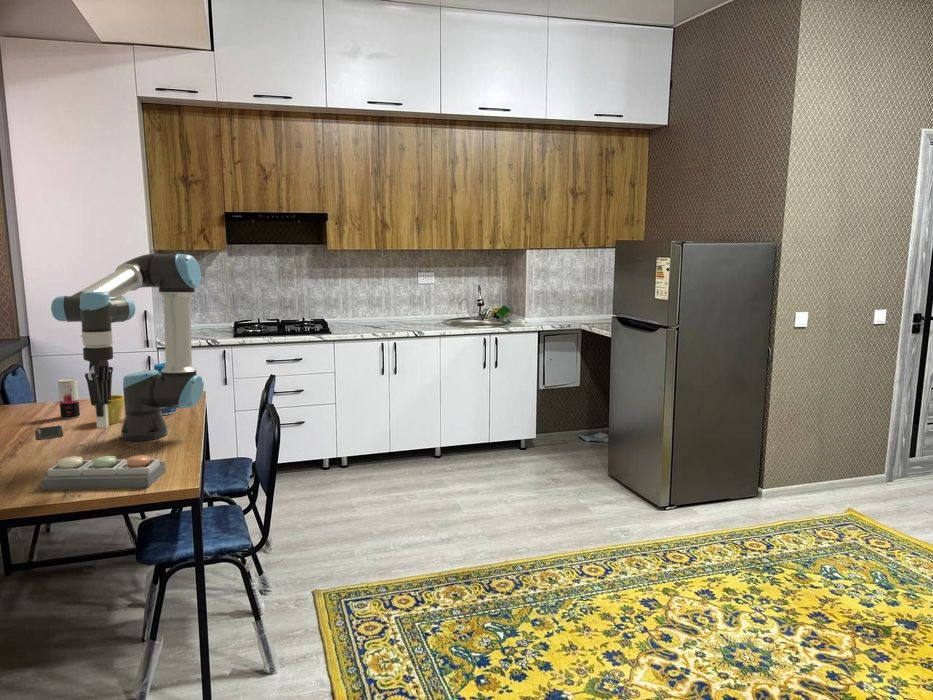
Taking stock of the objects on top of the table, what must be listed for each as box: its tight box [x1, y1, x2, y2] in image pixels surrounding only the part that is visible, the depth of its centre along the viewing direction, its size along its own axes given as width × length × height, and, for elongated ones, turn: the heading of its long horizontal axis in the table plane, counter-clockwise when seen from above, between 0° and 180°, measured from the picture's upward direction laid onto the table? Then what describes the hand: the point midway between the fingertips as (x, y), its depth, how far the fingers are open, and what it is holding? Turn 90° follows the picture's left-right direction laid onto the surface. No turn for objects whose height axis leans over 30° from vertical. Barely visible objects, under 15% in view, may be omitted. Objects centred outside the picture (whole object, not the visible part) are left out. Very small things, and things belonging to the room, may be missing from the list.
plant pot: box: [94, 394, 125, 425], centre depth 268 cm, size 10×10×10 cm
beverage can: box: [57, 377, 81, 420], centre depth 275 cm, size 7×7×15 cm
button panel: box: [40, 458, 167, 491], centre depth 203 cm, size 14×29×5 cm, turn 95°
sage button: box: [92, 455, 117, 468], centre depth 203 cm, size 6×6×2 cm
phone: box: [36, 425, 64, 441], centre depth 252 cm, size 8×1×15 cm
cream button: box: [58, 456, 83, 469], centre depth 202 cm, size 6×6×2 cm
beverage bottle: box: [153, 362, 178, 416], centre depth 282 cm, size 8×8×20 cm
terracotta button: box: [126, 454, 151, 468], centre depth 203 cm, size 6×6×2 cm
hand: (102, 426), depth 202 cm, fingers closed
